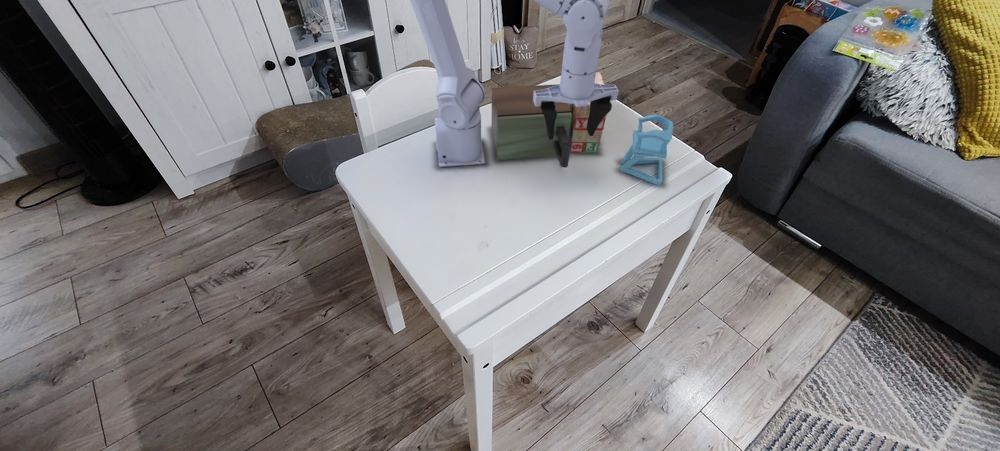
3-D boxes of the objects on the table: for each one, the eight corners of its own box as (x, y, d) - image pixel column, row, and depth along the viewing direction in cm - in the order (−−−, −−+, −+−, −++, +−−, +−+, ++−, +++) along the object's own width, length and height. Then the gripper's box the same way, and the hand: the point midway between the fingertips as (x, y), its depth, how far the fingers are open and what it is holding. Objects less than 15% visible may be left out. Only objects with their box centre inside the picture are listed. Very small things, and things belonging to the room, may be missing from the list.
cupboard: (564, 153, 98) (570, 110, 90) (496, 157, 96) (497, 115, 89) (554, 125, 105) (560, 84, 97) (491, 129, 103) (491, 87, 95)
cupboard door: (572, 177, 93) (580, 135, 85) (501, 182, 91) (502, 140, 83) (564, 153, 98) (571, 112, 90) (497, 157, 96) (497, 116, 88)
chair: (621, 155, 98) (635, 106, 89) (661, 161, 97) (678, 113, 88) (619, 178, 93) (633, 129, 84) (661, 185, 92) (679, 136, 83)
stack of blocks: (562, 98, 112) (568, 50, 103) (587, 98, 112) (596, 51, 103) (569, 153, 98) (577, 103, 89) (598, 154, 98) (609, 104, 89)
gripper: (541, 82, 71) (535, 151, 81) (630, 75, 73) (614, 144, 83) (532, 60, 76) (528, 128, 86) (616, 54, 78) (602, 121, 88)
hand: (570, 134), depth 85 cm, fingers open, 7 cm apart
